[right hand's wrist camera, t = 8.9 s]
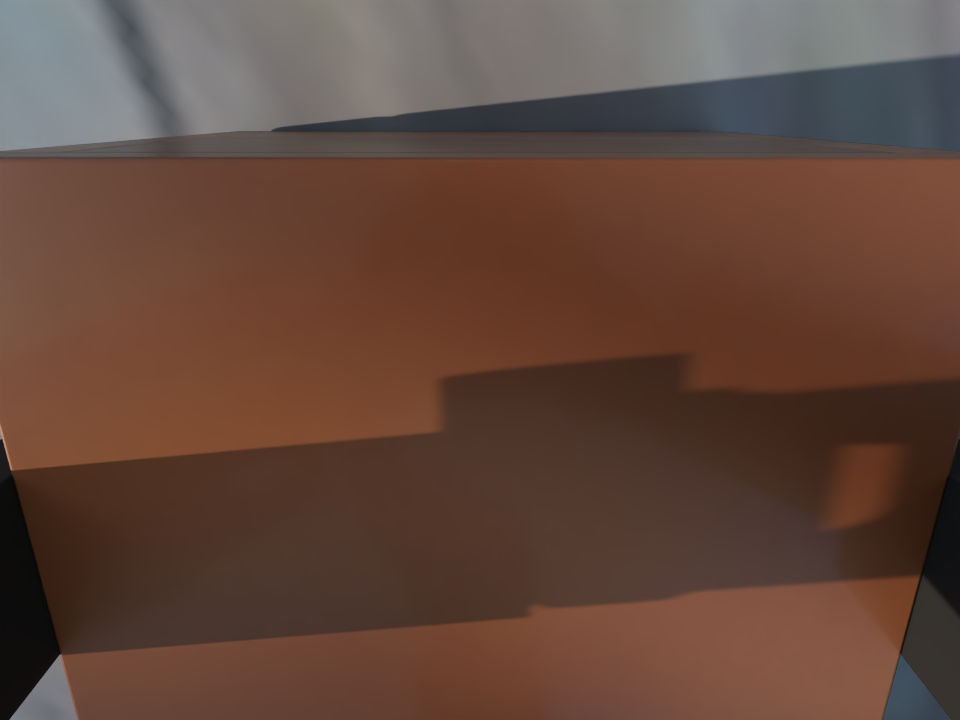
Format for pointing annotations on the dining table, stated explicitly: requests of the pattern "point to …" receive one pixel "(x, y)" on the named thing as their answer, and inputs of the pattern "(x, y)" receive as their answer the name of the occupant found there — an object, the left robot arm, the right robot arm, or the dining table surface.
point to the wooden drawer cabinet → (480, 419)
